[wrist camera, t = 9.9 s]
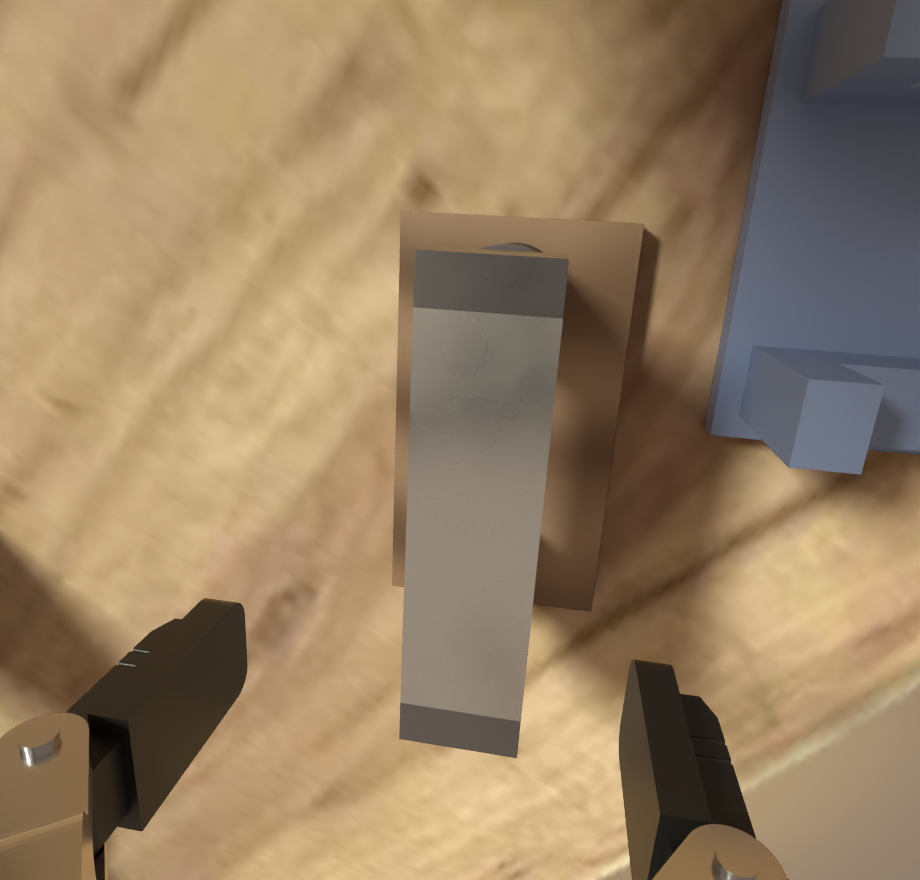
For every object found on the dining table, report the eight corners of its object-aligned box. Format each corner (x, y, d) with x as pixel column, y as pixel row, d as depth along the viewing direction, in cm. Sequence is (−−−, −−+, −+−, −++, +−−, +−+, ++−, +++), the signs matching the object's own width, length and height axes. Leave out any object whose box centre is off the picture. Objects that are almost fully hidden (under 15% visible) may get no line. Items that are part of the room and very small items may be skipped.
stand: (407, 211, 28) (350, 203, 21) (640, 224, 27) (670, 220, 19) (398, 573, 34) (350, 671, 26) (590, 598, 32) (598, 708, 25)
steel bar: (442, 246, 21) (415, 249, 17) (568, 254, 20) (569, 259, 16) (423, 664, 26) (399, 738, 22) (523, 679, 25) (516, 758, 21)
